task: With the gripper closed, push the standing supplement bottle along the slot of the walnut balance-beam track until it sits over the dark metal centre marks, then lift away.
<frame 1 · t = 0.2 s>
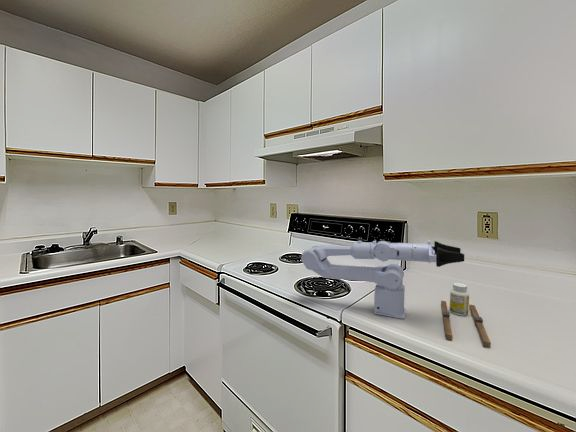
hand: (462, 254, 83), 21 cm above the worktop, tool horizontal, fingers open, 7 cm apart
supplement bottle: (458, 313, 92), on the worktop
balance beam: (461, 322, 85), on the worktop
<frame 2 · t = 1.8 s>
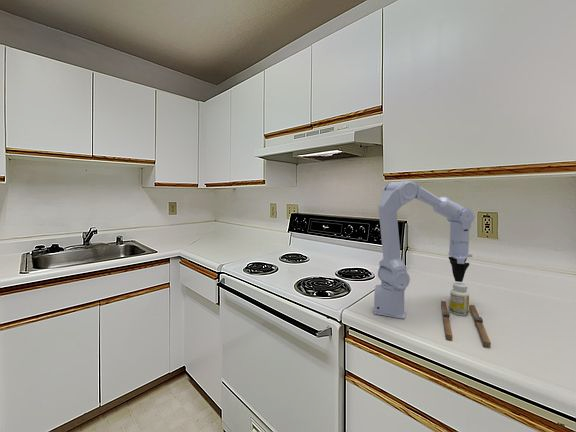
hand: (457, 279, 97), 9 cm above the worktop, tool pointing down, fingers open, 5 cm apart
nothing on the worktop moved.
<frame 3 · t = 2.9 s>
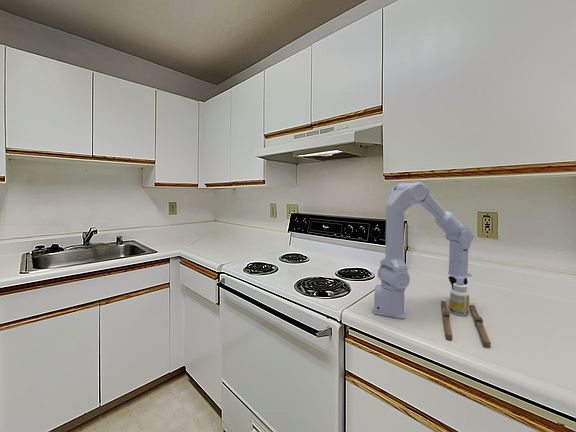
hand: (457, 297, 98), 3 cm above the worktop, tool pointing down, fingers closed
nothing on the worktop moved.
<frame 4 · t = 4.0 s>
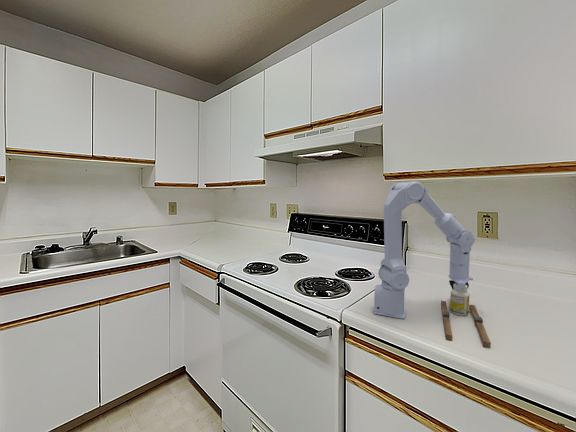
hand: (458, 302, 96), 2 cm above the worktop, tool pointing down, fingers closed
supplement bottle: (459, 313, 92), on the worktop, touching gripper
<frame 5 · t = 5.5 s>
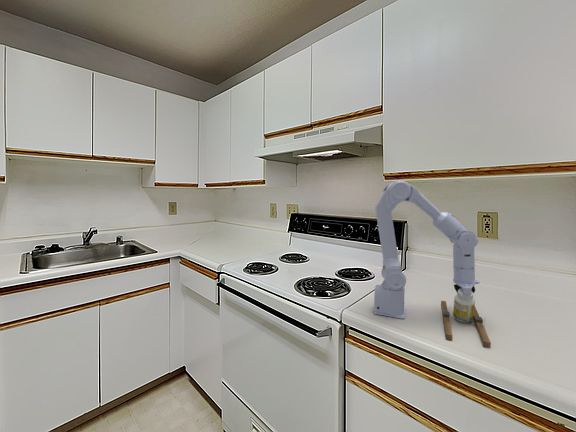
hand: (464, 307, 89), 3 cm above the worktop, tool pointing down, fingers closed, pressing on supplement bottle
supplement bottle: (462, 317, 87), point 1 cm above the worktop, touching gripper
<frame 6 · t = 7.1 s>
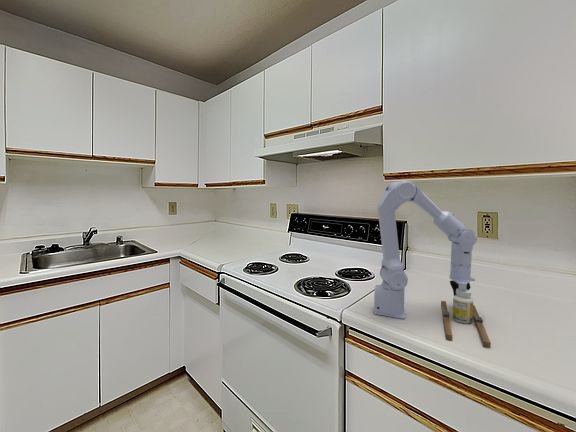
hand: (458, 303, 92), 3 cm above the worktop, tool pointing down, fingers closed
supplement bottle: (462, 320, 87), on the worktop
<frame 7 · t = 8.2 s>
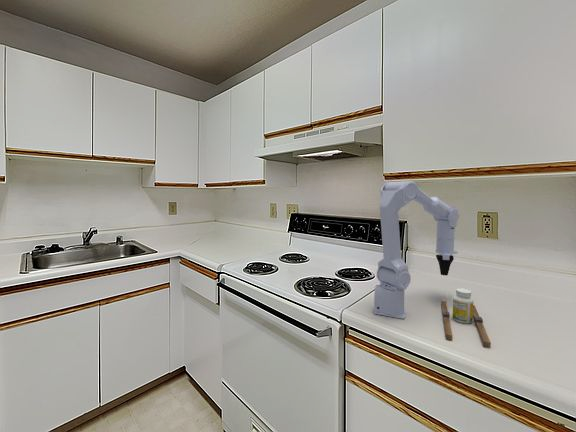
hand: (444, 274, 103), 9 cm above the worktop, tool pointing down, fingers closed
nothing on the worktop moved.
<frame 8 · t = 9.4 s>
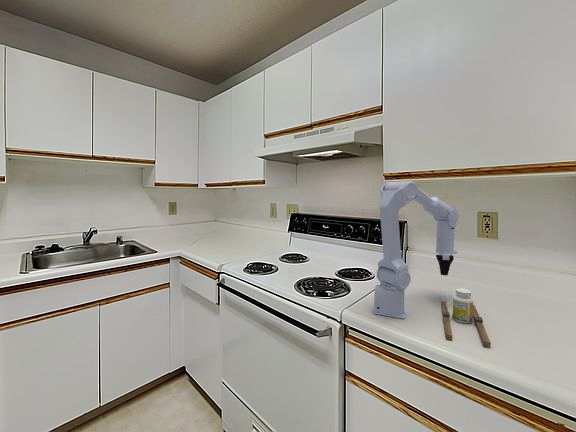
hand: (444, 274, 103), 9 cm above the worktop, tool pointing down, fingers closed
nothing on the worktop moved.
at the end: supplement bottle 2.3 cm from the target spot, on the worktop; supplement bottle tilted 0°; the gripper is holding nothing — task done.
